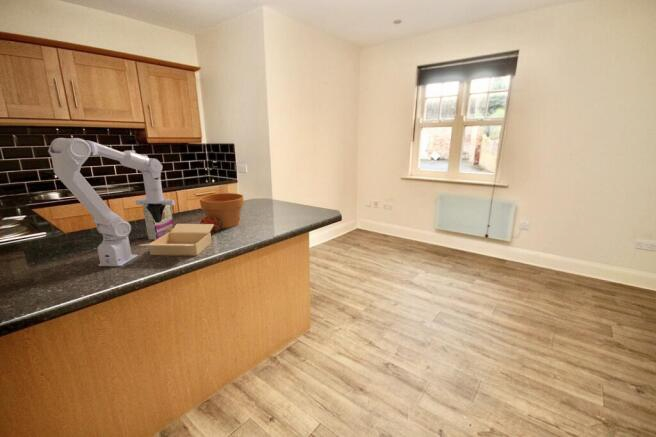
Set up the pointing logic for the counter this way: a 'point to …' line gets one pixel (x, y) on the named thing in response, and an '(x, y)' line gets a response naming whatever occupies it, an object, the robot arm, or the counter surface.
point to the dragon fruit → (212, 220)
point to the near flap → (167, 245)
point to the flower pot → (223, 207)
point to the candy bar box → (158, 228)
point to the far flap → (192, 228)
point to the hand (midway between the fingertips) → (158, 222)
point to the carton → (181, 238)
